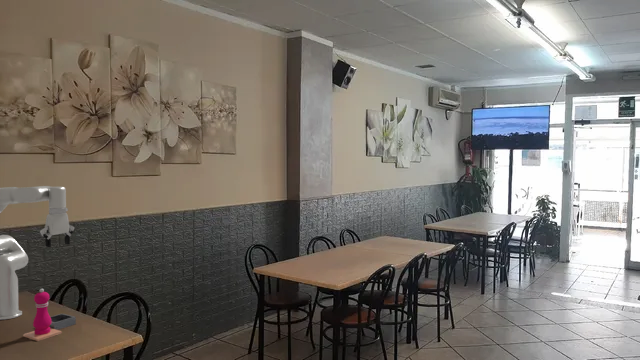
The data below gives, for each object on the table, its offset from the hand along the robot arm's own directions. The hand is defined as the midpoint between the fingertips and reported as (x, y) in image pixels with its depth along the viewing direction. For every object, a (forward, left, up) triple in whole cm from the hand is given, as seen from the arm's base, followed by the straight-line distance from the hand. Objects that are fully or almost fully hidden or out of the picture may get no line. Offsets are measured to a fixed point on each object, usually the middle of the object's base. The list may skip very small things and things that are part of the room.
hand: (58, 245), depth 240 cm
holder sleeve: (+11, -7, -36) cm, 39 cm away
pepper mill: (+17, -18, -36) cm, 43 cm away
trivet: (+18, -18, -36) cm, 44 cm away
